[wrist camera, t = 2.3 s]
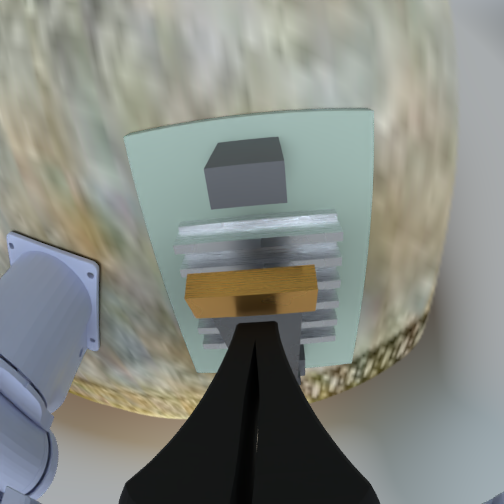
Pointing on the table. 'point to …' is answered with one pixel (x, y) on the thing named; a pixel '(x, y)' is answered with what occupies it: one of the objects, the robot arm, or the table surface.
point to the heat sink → (268, 258)
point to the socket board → (309, 187)
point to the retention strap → (256, 301)
